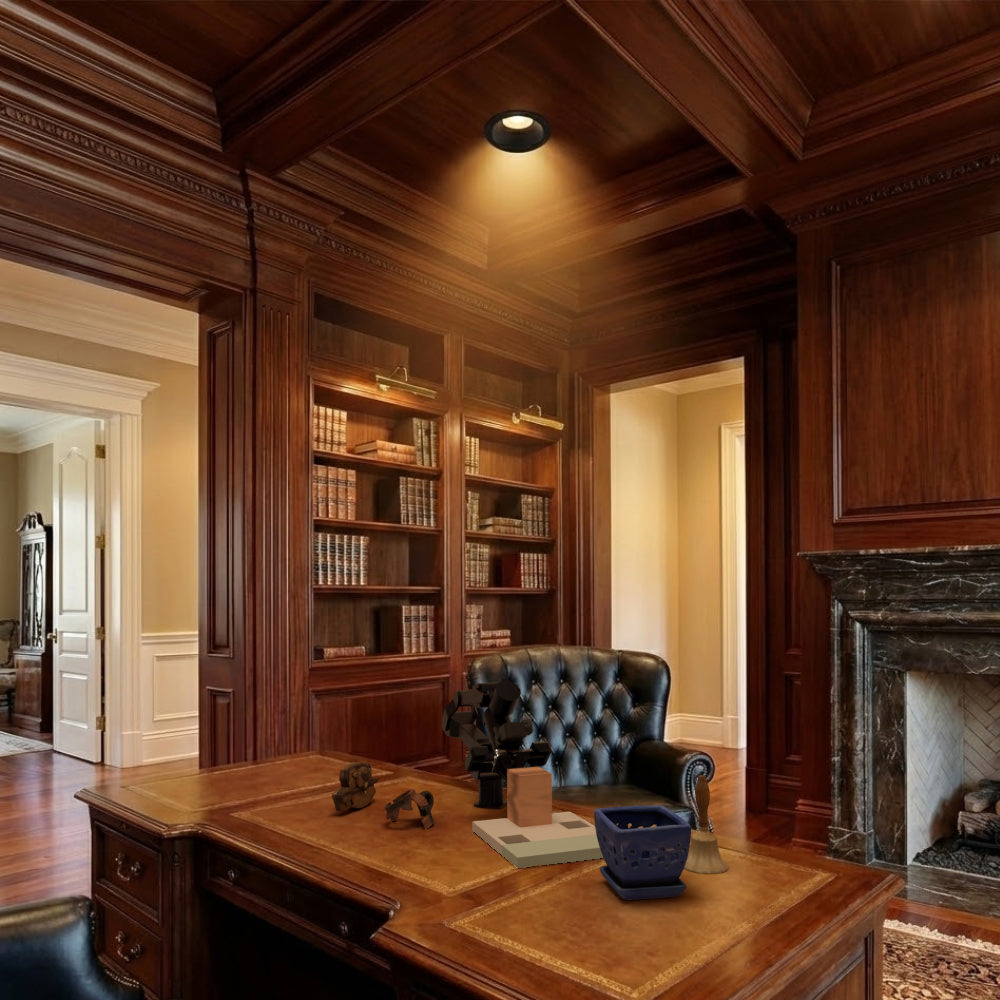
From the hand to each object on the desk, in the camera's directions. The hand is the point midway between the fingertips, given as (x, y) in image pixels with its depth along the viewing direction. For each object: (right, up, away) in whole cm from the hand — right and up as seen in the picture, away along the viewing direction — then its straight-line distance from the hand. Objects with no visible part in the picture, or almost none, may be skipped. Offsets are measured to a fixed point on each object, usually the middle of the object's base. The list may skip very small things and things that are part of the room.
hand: (518, 790), depth 183 cm
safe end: (+8, -5, -22) cm, 24 cm away
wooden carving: (-36, -8, +12) cm, 39 cm away
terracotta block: (+2, -4, -6) cm, 8 cm away
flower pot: (+20, -3, -40) cm, 44 cm away
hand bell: (+33, -4, -28) cm, 43 cm away
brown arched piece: (-22, -7, 0) cm, 23 cm away
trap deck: (+4, -6, -10) cm, 12 cm away
